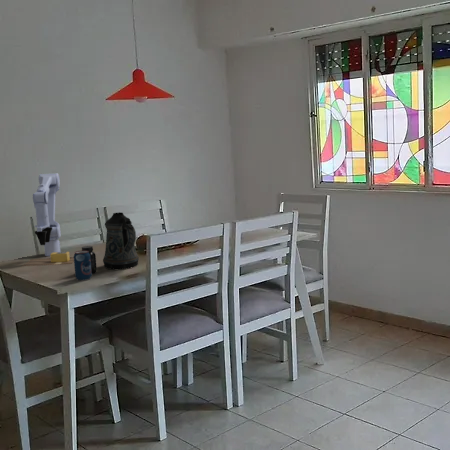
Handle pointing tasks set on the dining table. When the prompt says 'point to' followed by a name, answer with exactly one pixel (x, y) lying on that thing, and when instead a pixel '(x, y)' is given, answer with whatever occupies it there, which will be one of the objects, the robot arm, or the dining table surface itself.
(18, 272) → the dining table surface
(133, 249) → the beer stein
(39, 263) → the board
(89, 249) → the supplement bottle
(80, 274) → the soda can
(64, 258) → the block
